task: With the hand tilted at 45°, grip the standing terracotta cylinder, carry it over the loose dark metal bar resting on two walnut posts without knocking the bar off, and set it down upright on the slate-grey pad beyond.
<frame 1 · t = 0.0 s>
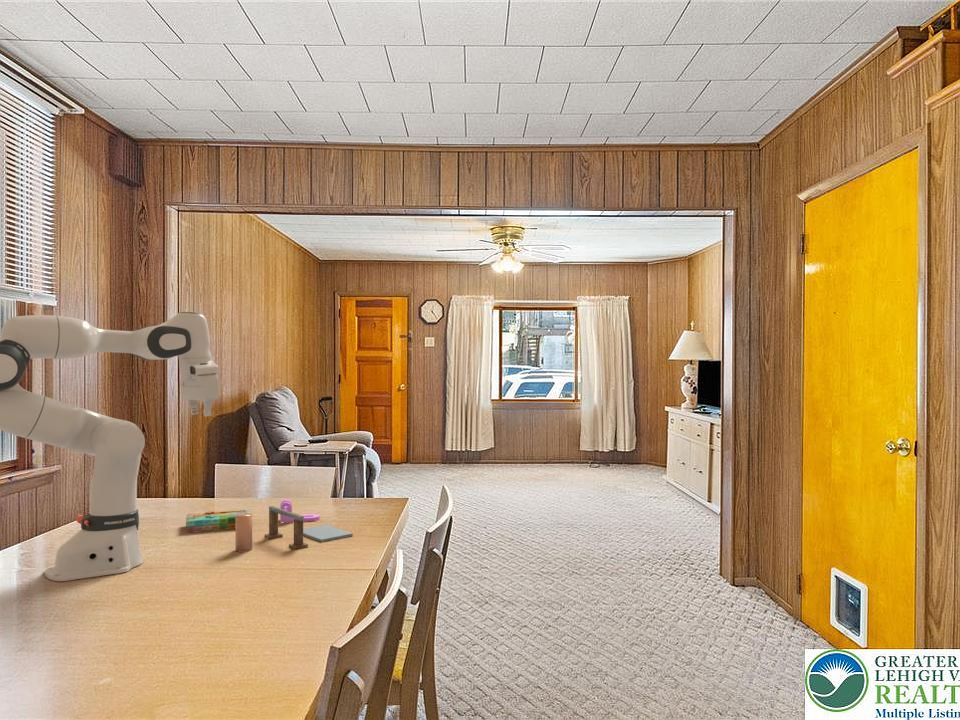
hand: (201, 415, 198), 39 cm above the table, tool pointing down, fingers open, 8 cm apart
metal bar: (285, 515, 206), point 8 cm above the table, touching hurdle posts
terracotta cylinder: (243, 549, 197), on the table
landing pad: (323, 534, 215), on the table
hurdle posts: (285, 541, 206), on the table
bracket: (300, 521, 234), on the table
puzzle game: (219, 528, 225), on the table
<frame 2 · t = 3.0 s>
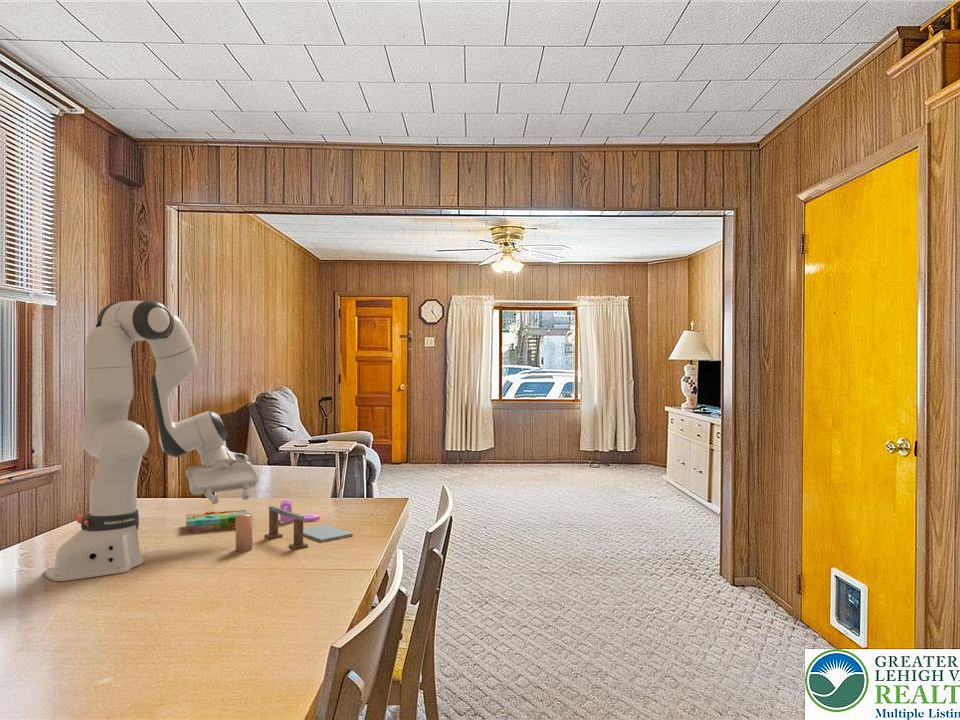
hand: (231, 500, 204), 13 cm above the table, tool tilted 45°, fingers open, 8 cm apart
nothing on the table moved.
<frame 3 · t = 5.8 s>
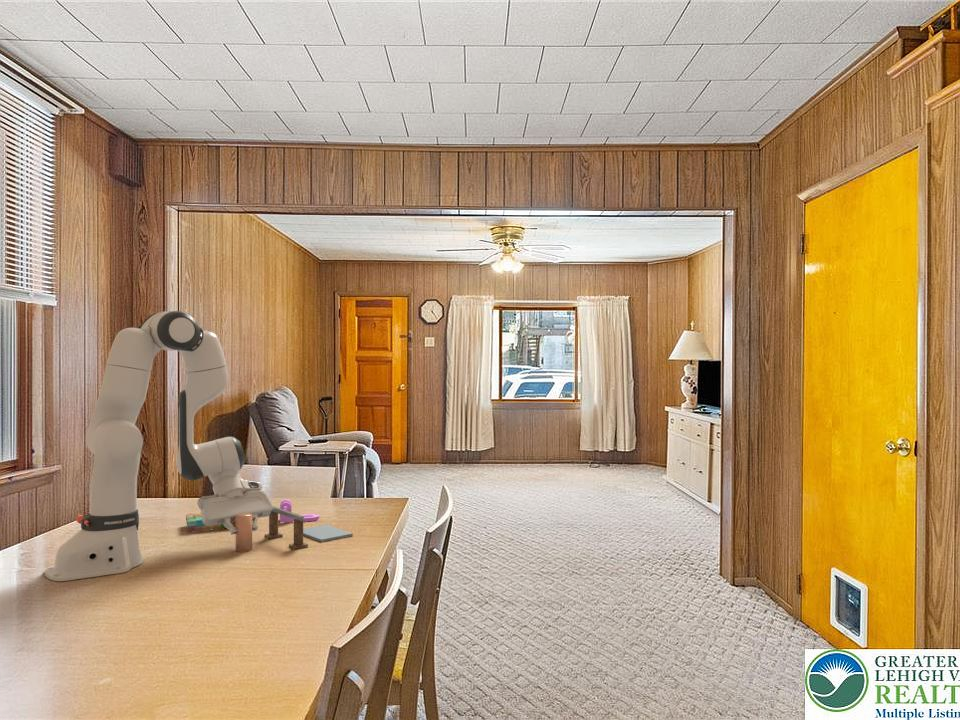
hand: (244, 531, 196), 5 cm above the table, tool tilted 45°, fingers closed on terracotta cylinder, 5 cm apart
terracotta cylinder: (243, 549, 197), on the table, touching gripper
everything else where it was.
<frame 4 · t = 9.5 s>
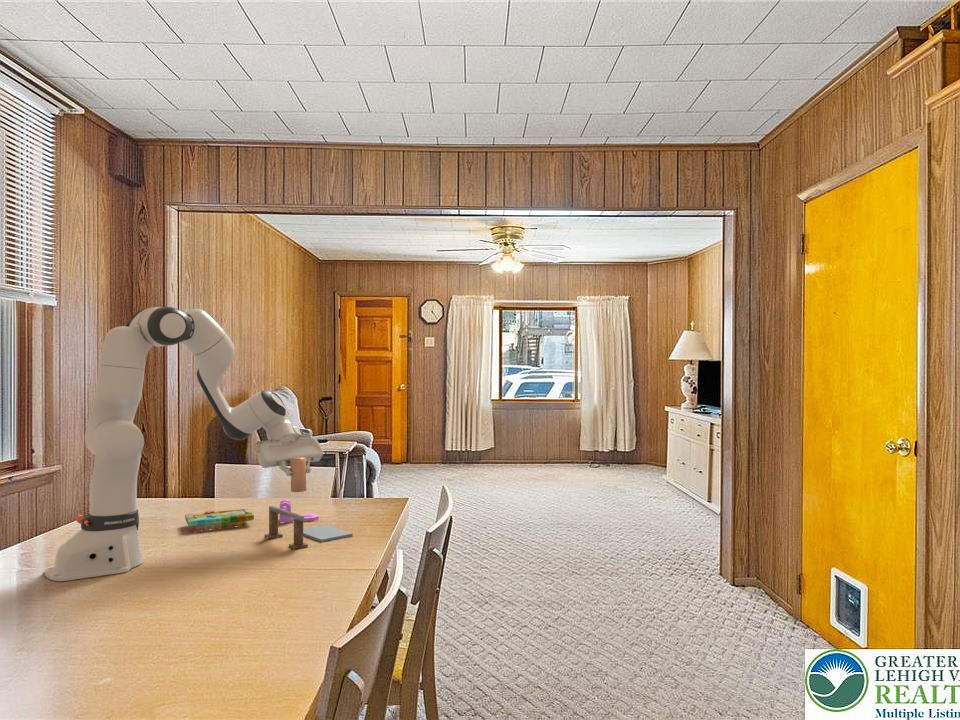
hand: (299, 473, 208), 20 cm above the table, tool tilted 45°, fingers closed on terracotta cylinder, 5 cm apart
terracotta cylinder: (298, 490, 209), point 15 cm above the table, touching gripper
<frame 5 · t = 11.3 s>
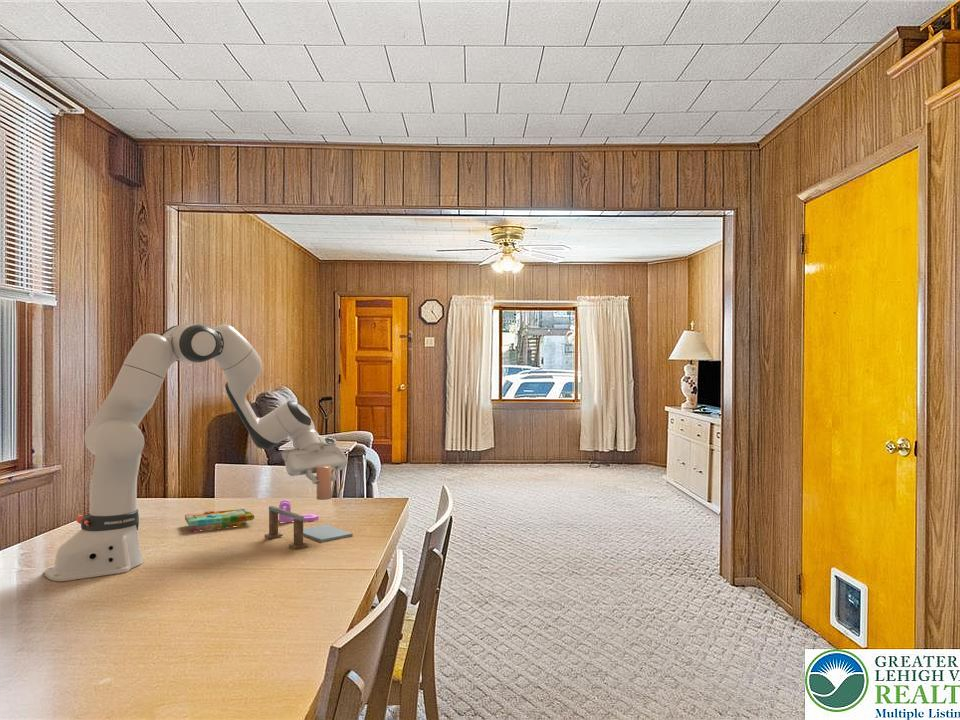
hand: (325, 481, 214), 17 cm above the table, tool tilted 45°, fingers closed on terracotta cylinder, 5 cm apart
terracotta cylinder: (324, 498, 215), point 11 cm above the table, touching gripper
when the fingers open (8 cm above the table, at t = 13.2 s): terracotta cylinder drops 1 cm, resting on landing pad.
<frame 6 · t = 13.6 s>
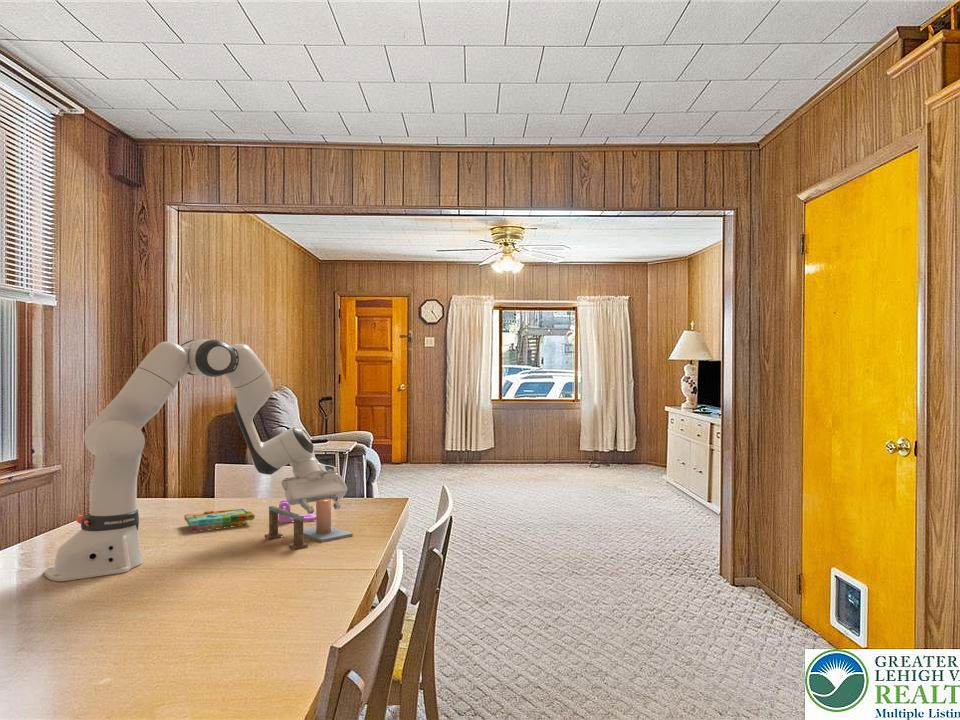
hand: (324, 510, 214), 8 cm above the table, tool tilted 45°, fingers open, 8 cm apart
terracotta cylinder: (323, 531, 215), point 1 cm above the table, touching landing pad
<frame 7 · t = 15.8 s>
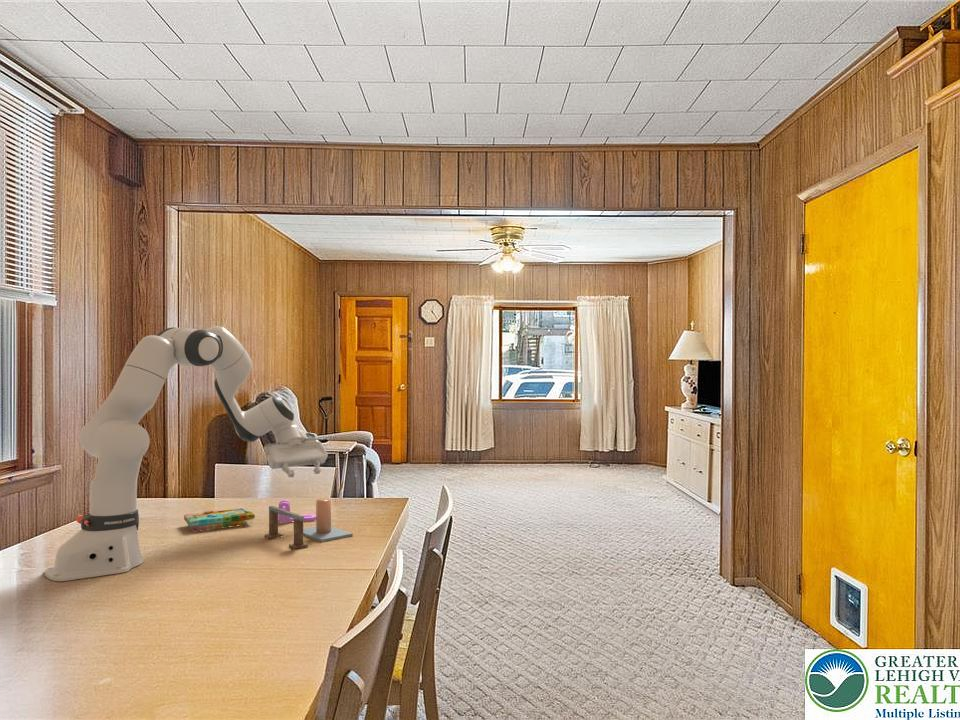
hand: (305, 474, 224), 17 cm above the table, tool tilted 45°, fingers open, 8 cm apart
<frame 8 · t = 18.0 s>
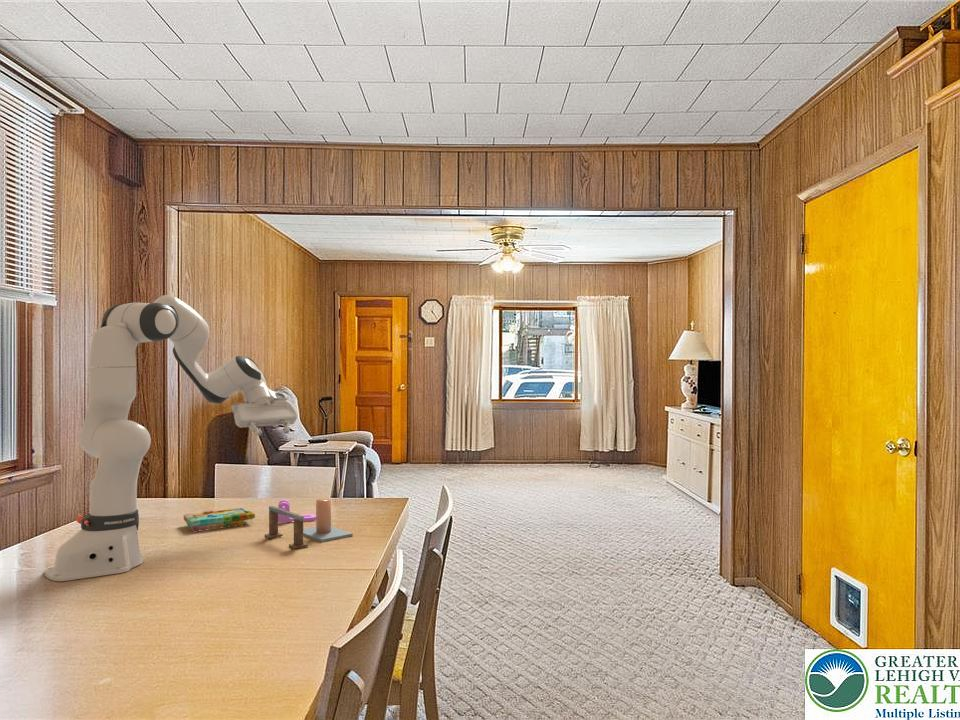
hand: (273, 433, 219), 31 cm above the table, tool tilted 45°, fingers open, 8 cm apart
at the end: terracotta cylinder inside the target area on the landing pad (0.1 cm from its centre), point 0.8 cm above the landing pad's base; metal bar point 8.0 cm above the table; terracotta cylinder tilted 0° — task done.
